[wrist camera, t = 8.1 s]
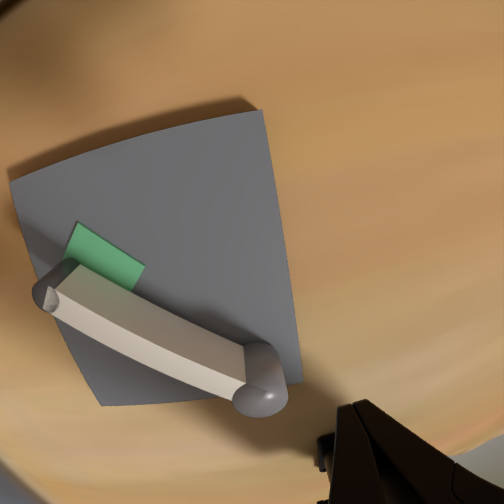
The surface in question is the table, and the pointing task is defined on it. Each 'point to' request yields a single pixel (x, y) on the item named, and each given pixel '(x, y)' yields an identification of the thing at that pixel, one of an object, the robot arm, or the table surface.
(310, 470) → the table surface
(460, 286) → the table surface
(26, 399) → the table surface
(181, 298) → the plate
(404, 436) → the robot arm
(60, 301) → the light grey rounded bar
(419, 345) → the table surface
